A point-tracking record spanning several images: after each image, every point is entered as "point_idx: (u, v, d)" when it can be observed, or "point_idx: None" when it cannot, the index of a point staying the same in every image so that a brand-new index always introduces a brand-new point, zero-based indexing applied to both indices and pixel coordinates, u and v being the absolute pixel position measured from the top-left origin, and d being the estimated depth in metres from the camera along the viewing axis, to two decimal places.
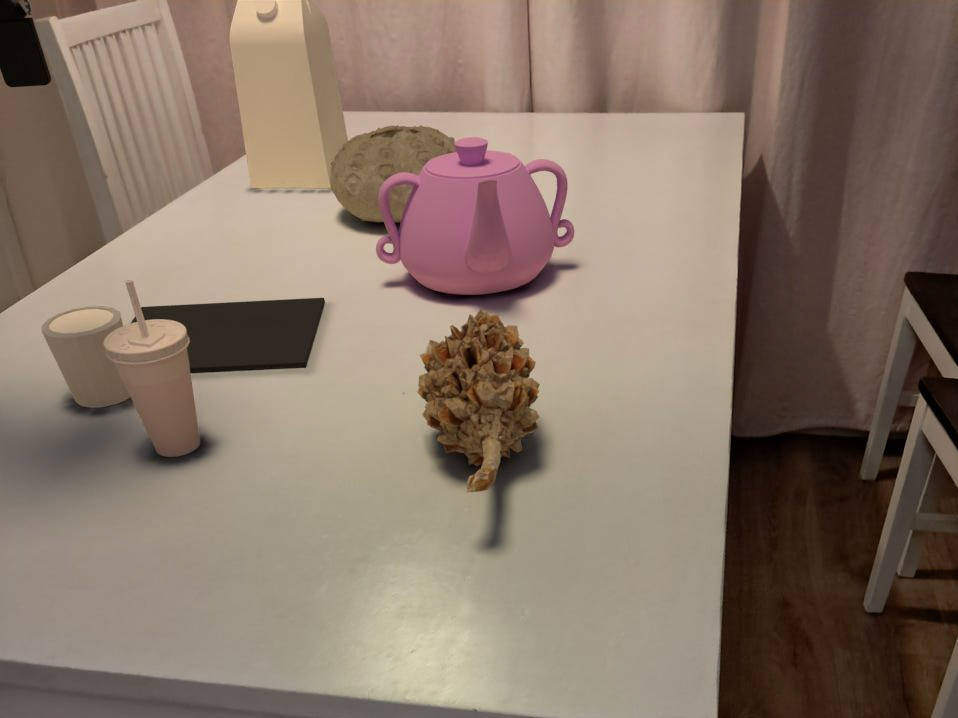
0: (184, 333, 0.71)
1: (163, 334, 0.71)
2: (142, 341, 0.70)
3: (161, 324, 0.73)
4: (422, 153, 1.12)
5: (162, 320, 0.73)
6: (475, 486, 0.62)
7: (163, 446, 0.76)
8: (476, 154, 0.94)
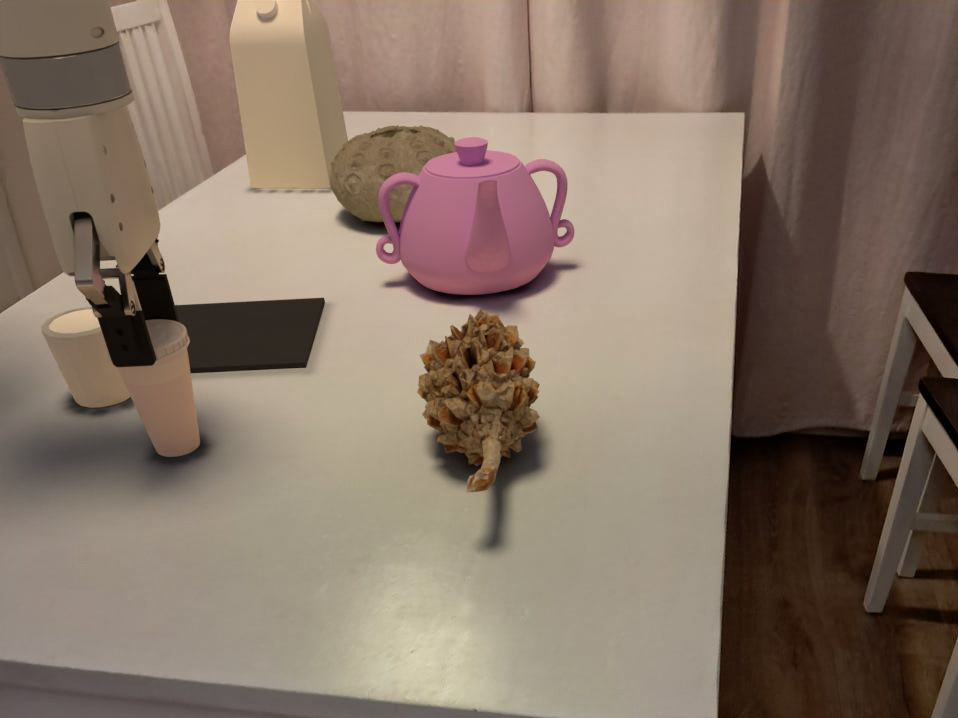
0: (184, 333, 0.71)
1: (163, 334, 0.71)
2: None
3: (161, 324, 0.73)
4: (422, 153, 1.12)
5: (162, 320, 0.73)
6: (475, 486, 0.62)
7: (163, 446, 0.76)
8: (476, 154, 0.94)
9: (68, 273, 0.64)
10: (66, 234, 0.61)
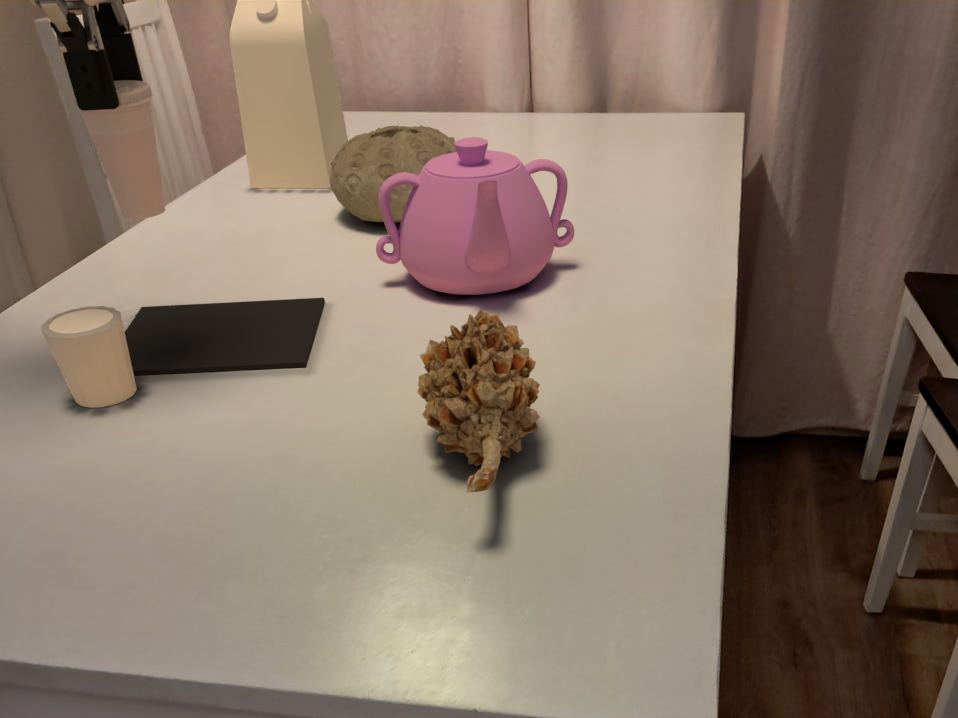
0: (147, 86, 0.76)
1: (128, 86, 0.75)
2: None
3: (127, 82, 0.77)
4: (422, 153, 1.12)
5: (128, 81, 0.78)
6: (475, 486, 0.62)
7: (129, 207, 0.80)
8: (476, 154, 0.94)
9: (34, 1, 0.68)
10: None
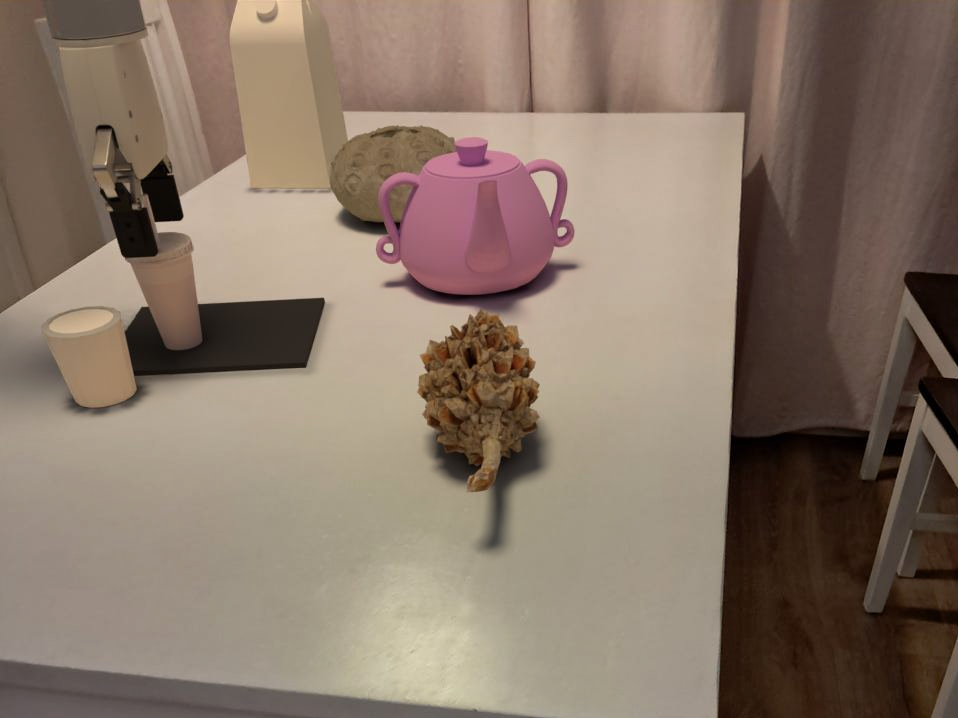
0: (189, 241, 0.86)
1: (172, 242, 0.86)
2: None
3: (170, 235, 0.87)
4: (422, 153, 1.12)
5: (171, 232, 0.88)
6: (475, 486, 0.62)
7: (172, 340, 0.90)
8: (476, 154, 0.94)
9: (93, 178, 0.78)
10: (92, 144, 0.76)
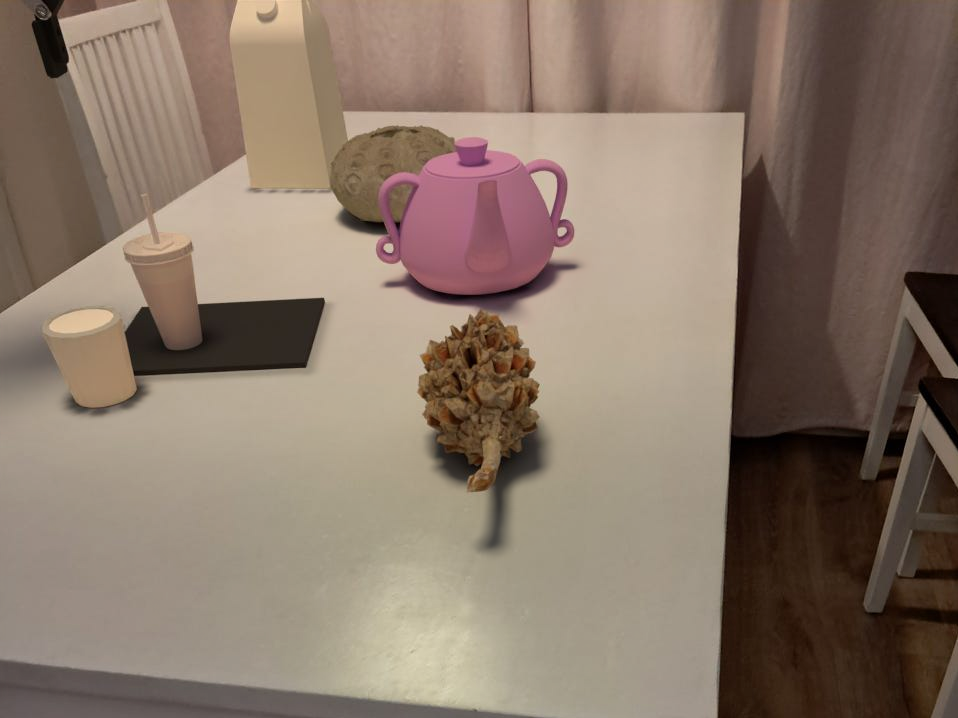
0: (189, 241, 0.86)
1: (172, 242, 0.86)
2: (154, 246, 0.85)
3: (170, 235, 0.87)
4: (422, 153, 1.11)
5: (171, 232, 0.88)
6: (475, 486, 0.62)
7: (171, 340, 0.90)
8: (476, 154, 0.94)
9: None
10: None
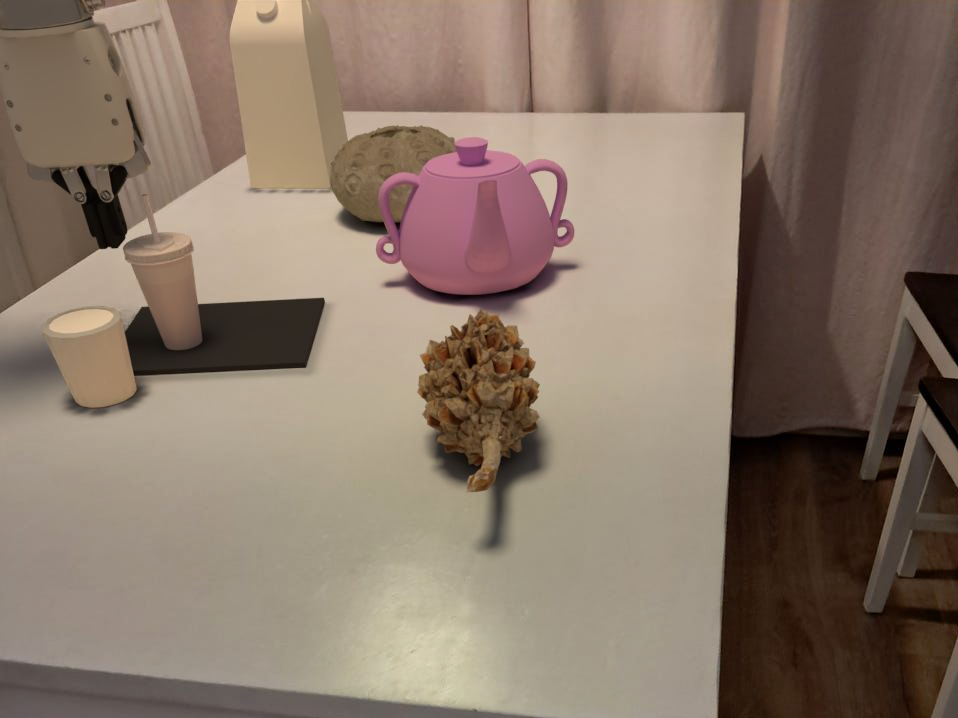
0: (189, 241, 0.86)
1: (172, 242, 0.86)
2: (155, 246, 0.85)
3: (170, 235, 0.87)
4: (422, 153, 1.11)
5: (171, 232, 0.88)
6: (475, 486, 0.62)
7: (172, 340, 0.90)
8: (476, 154, 0.94)
9: None
10: None
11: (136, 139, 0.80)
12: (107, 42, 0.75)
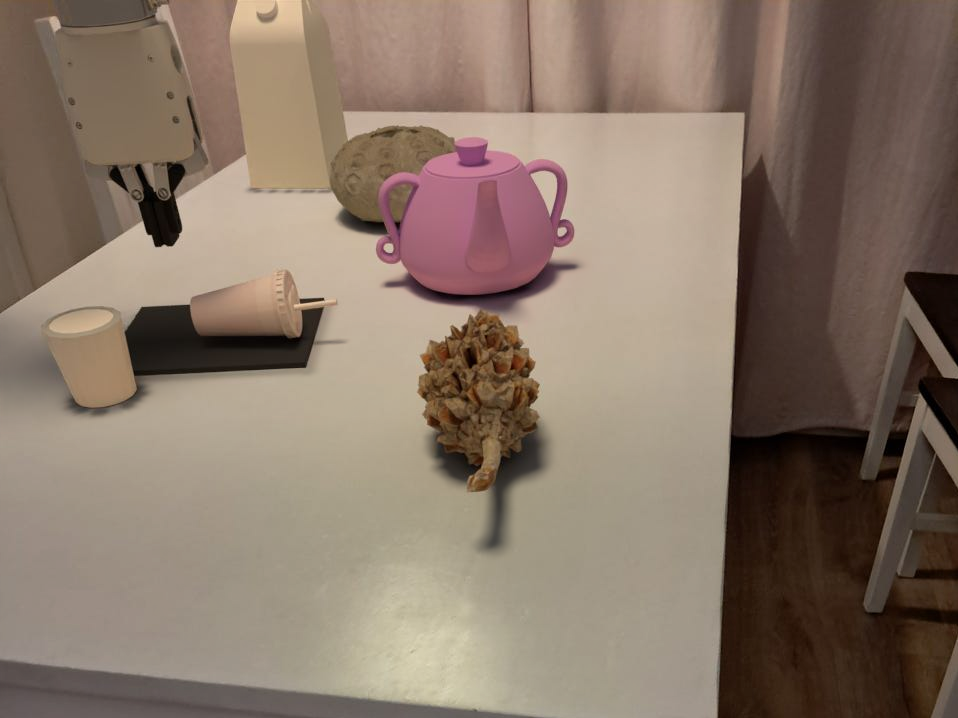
0: None
1: (298, 319, 0.91)
2: (293, 312, 0.89)
3: (298, 303, 0.92)
4: (422, 153, 1.12)
5: (298, 298, 0.92)
6: (475, 486, 0.62)
7: (202, 318, 0.89)
8: (476, 154, 0.94)
9: None
10: None
11: (195, 137, 0.80)
12: (170, 40, 0.75)
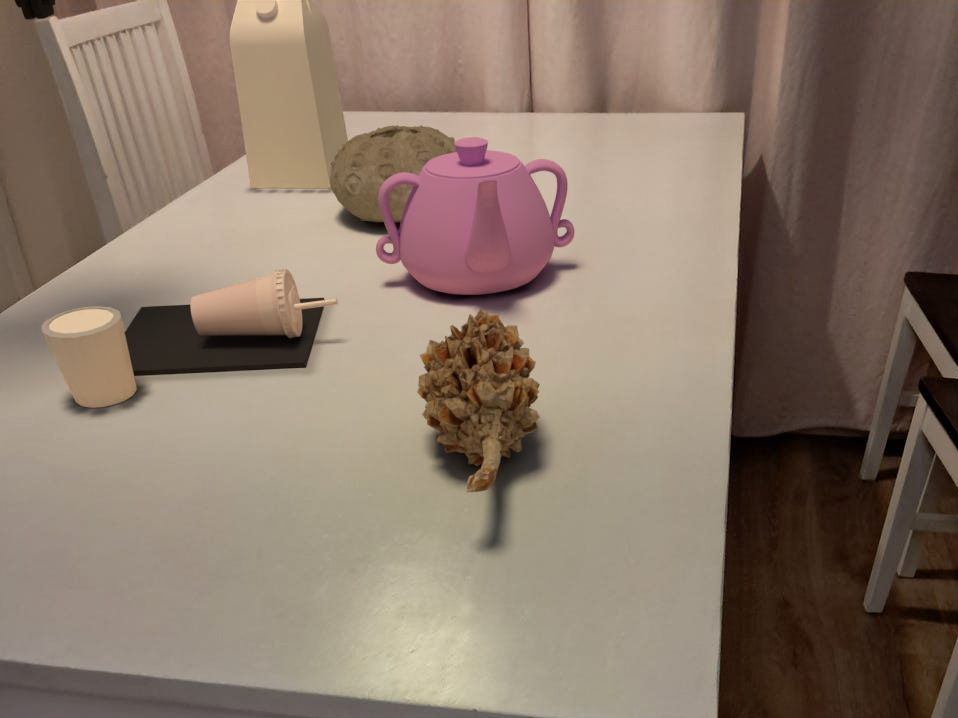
0: None
1: (298, 319, 0.91)
2: (293, 311, 0.89)
3: (298, 304, 0.92)
4: (422, 153, 1.11)
5: (298, 299, 0.93)
6: (475, 486, 0.62)
7: (202, 317, 0.89)
8: (476, 154, 0.94)
9: None
10: None
11: None
12: None
